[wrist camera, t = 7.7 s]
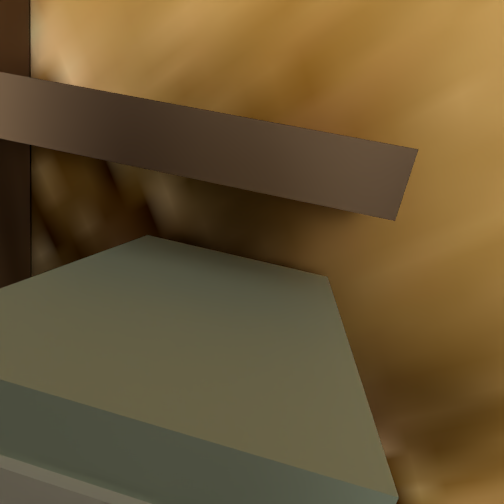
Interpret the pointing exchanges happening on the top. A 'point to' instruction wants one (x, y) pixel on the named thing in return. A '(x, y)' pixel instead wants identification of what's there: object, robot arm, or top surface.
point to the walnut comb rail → (172, 147)
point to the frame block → (182, 385)
